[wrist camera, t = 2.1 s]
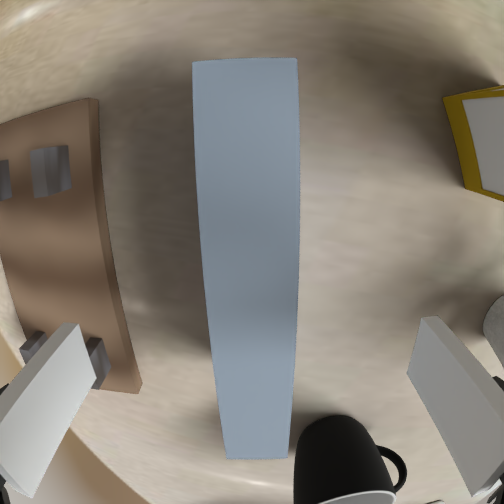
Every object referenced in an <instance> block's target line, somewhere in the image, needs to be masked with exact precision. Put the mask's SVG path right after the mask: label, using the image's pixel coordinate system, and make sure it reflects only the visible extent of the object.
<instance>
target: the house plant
mask: <svg viewBox="0 0 504 504" xmlns="http://www.w3.org/2000/svg"><path fill="white" fill-rule="evenodd" d="M483 333H484V335H485V337H486V338H487V340H488V342H489V343H490V345H491V347H492V348H493V350H494V352H495V354H496V355H497V357H498V359H499V360H500V362H501V364H502V366H503V368H504V295H503V296H501V297H500V298H498V299H497V300H496V301H495V302H494V303H493V305H492V306H491V307H490V309H489V311H488V312H487V314H486V317H485V319H484V323H483Z"/></svg>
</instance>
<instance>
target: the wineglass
mask: <svg viewBox="0 0 504 504" xmlns="http://www.w3.org/2000/svg"><path fill="white" fill-rule="evenodd" d="M430 504H446V503H445V502H443V501H437V502H433V503H430Z"/></svg>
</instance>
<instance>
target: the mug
mask: <svg viewBox="0 0 504 504" xmlns="http://www.w3.org/2000/svg"><path fill="white" fill-rule="evenodd" d="M381 455H382V456H384V457H386V458H388V459H389V460H391V461H392V462H393V463H394V464H395V466H396V467H397V469H398V472H399V480H398V483H397V484H396V485H395V486H393V483H392V481H391V478H390V475H389V473H388V470H387V468H386V466H385V463H384V461H383V459H382V457H381ZM406 477H407V469H406V465H405V463H404V461H403V460H402V458H401V457H400V456H399V455H398V454H397V453H395V452H394V451H392V450H390V449H388V448H385V447H382V446H378V445H375V443H374V441H373V439H372V438H371V436H370V435H369V433H368V432H367V430H366V429H365V428H364V426H363V425H362V424H361V423H359V422H358V421H357V420H355V419H353V418H351V417H347V416H332V417H327V418H323V419H321V420H318V421H316V422H314V423H312V424H311V425H310V426H308V427H307V428H306V429H305V430H304V431H303V433H302V434H301V436H300V438H299V441H298V444H297V449H296V455H295V464H294V491H293V492H294V504H394V503H395V501H396V492H397V491H398V490H400V489H401V488H402V486H403V485H404V483H405V481H406Z"/></svg>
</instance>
